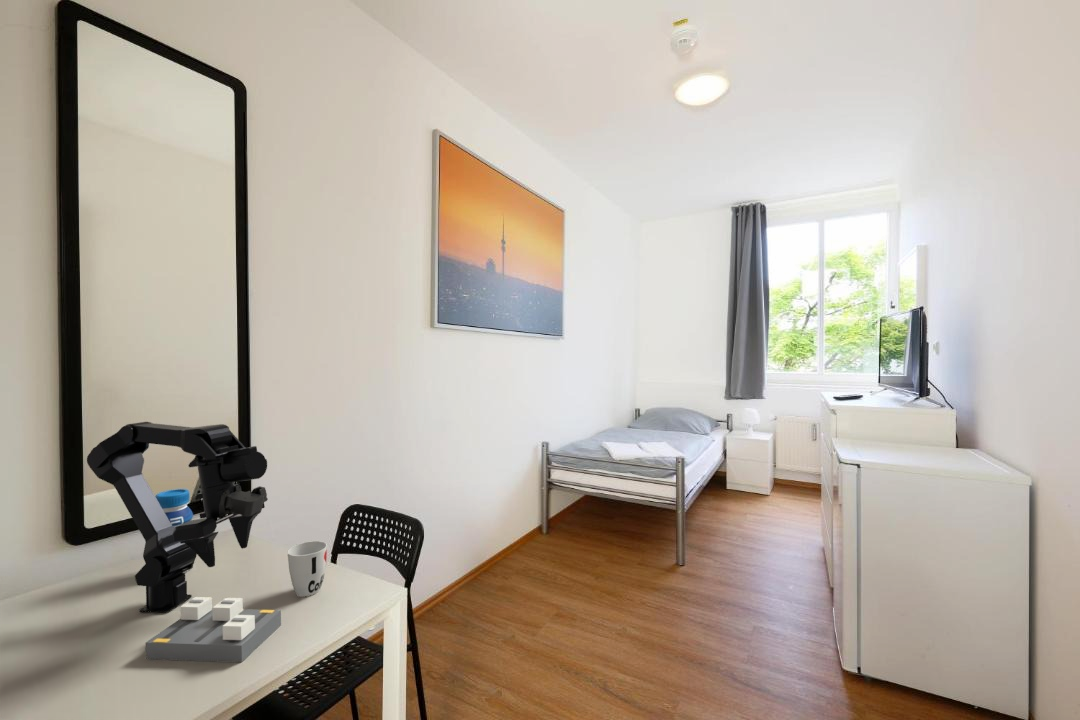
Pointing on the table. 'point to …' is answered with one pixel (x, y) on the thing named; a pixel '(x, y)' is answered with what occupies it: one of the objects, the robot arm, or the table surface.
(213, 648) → the console
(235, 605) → the switch middle
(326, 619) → the table surface
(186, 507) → the beverage bottle
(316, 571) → the cup
